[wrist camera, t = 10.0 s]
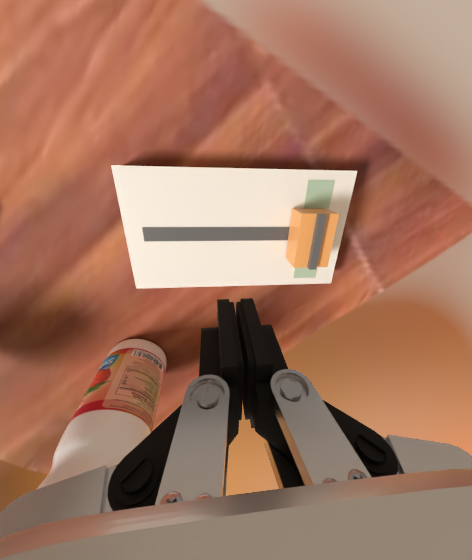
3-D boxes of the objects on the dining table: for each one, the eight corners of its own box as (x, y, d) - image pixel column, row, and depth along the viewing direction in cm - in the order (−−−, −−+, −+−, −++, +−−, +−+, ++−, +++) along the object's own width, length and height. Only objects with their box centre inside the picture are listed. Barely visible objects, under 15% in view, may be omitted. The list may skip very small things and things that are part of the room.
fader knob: (285, 257, 28) (295, 269, 25) (291, 208, 26) (304, 214, 22) (315, 257, 29) (329, 269, 25) (325, 208, 26) (342, 214, 23)
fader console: (142, 278, 31) (136, 288, 28) (121, 165, 25) (110, 165, 22) (321, 274, 34) (331, 283, 31) (343, 170, 27) (358, 170, 25)
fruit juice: (165, 380, 40) (90, 719, 16) (109, 375, 39) (-75, 750, 14) (170, 340, 37) (81, 708, 12) (108, 333, 35) (-152, 750, 10)
